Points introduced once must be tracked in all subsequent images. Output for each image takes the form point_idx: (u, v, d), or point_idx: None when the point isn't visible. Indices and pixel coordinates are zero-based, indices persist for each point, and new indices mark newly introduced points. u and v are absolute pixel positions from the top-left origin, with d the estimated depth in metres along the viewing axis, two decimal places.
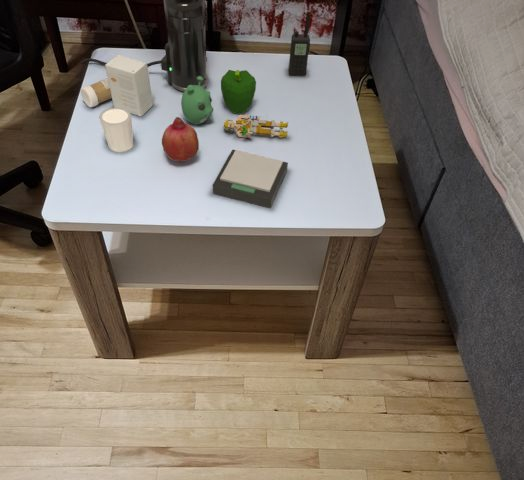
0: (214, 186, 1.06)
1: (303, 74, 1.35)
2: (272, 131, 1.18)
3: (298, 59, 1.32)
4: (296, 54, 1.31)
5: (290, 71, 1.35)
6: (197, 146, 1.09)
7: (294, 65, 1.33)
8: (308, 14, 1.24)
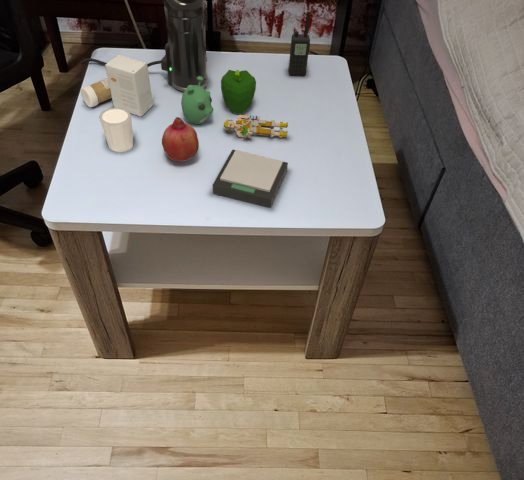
0: (214, 186, 1.06)
1: (303, 74, 1.35)
2: (272, 131, 1.18)
3: (298, 59, 1.32)
4: (296, 54, 1.31)
5: (290, 71, 1.35)
6: (197, 146, 1.09)
7: (294, 65, 1.33)
8: (308, 14, 1.24)
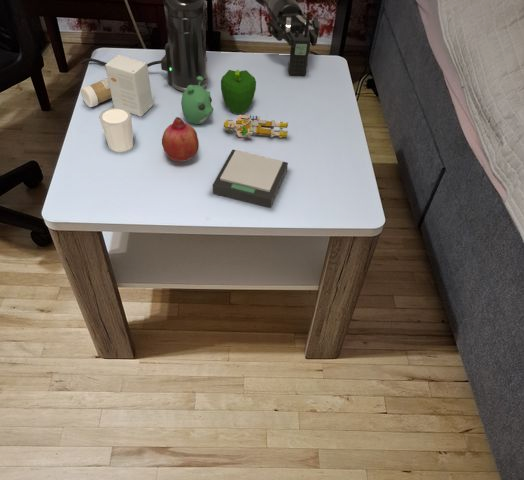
0: (214, 186, 1.06)
1: (303, 74, 1.35)
2: (272, 131, 1.18)
3: (298, 59, 1.32)
4: (296, 54, 1.31)
5: (290, 71, 1.35)
6: (197, 146, 1.09)
7: (294, 65, 1.33)
8: (308, 14, 1.24)
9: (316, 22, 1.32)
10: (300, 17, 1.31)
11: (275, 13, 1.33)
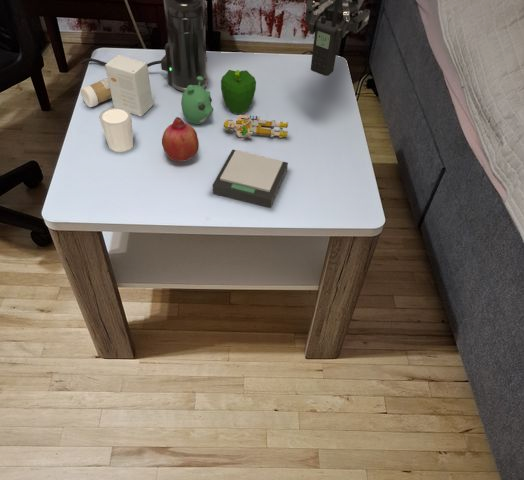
0: (214, 186, 1.06)
1: (325, 73, 1.08)
2: (272, 131, 1.18)
3: (320, 53, 1.05)
4: (318, 45, 1.04)
5: (311, 65, 1.08)
6: (197, 146, 1.09)
7: (315, 58, 1.06)
8: None
9: (361, 15, 1.02)
10: (346, 3, 1.03)
11: None
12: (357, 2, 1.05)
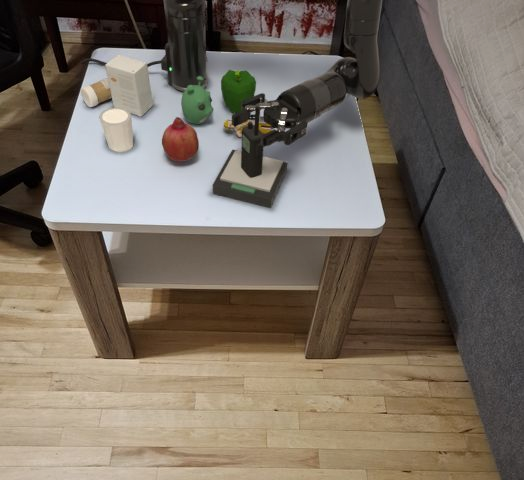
0: (214, 186, 1.06)
1: (248, 174, 1.06)
2: None
3: (245, 154, 1.04)
4: (243, 146, 1.03)
5: (241, 162, 1.08)
6: (197, 146, 1.09)
7: (242, 157, 1.06)
8: (255, 109, 0.95)
9: (296, 127, 0.99)
10: (284, 112, 1.00)
11: None
12: (301, 113, 1.02)
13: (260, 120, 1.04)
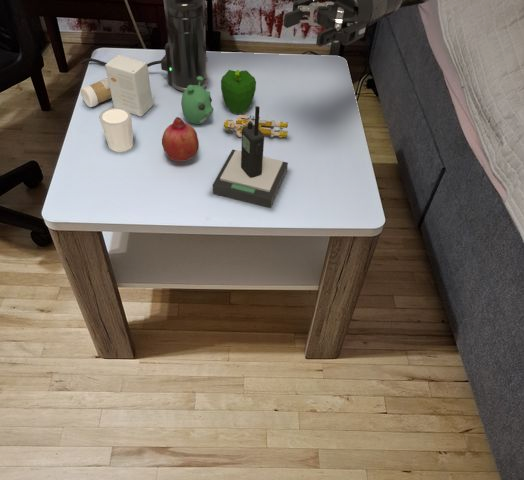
0: (214, 186, 1.06)
1: (248, 174, 1.06)
2: (272, 131, 1.18)
3: (245, 154, 1.04)
4: (243, 146, 1.03)
5: (241, 162, 1.08)
6: (197, 146, 1.09)
7: (242, 157, 1.06)
8: (255, 109, 0.95)
9: (355, 26, 0.91)
10: (341, 10, 0.93)
11: None
12: (358, 13, 0.94)
13: (313, 23, 0.96)
